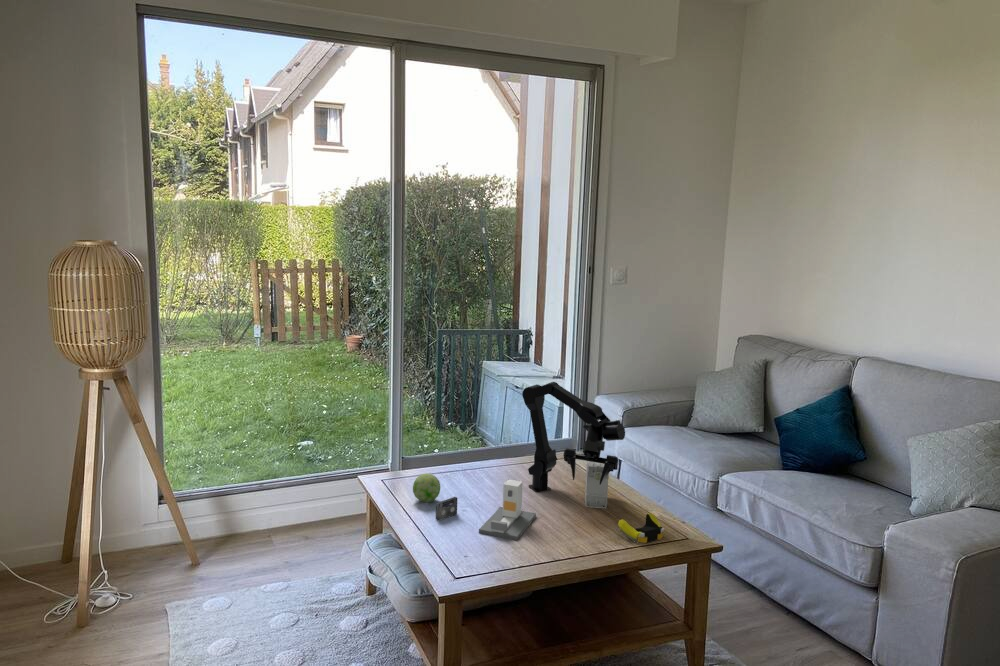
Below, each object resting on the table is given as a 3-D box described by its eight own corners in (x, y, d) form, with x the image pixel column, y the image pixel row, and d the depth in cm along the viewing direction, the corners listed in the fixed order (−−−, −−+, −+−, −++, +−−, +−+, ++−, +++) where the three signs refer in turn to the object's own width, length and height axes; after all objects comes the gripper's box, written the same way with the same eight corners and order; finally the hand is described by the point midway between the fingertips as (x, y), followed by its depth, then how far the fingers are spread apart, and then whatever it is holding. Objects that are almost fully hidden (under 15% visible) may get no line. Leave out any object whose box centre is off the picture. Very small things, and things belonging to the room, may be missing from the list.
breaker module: (507, 511, 245) (508, 479, 243) (521, 514, 243) (522, 481, 241) (501, 518, 239) (502, 485, 237) (515, 520, 238) (517, 487, 236)
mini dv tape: (454, 512, 247) (454, 496, 246) (457, 514, 245) (457, 497, 245) (435, 519, 241) (436, 502, 240) (438, 520, 240) (438, 503, 239)
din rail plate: (500, 510, 250) (500, 498, 249) (535, 516, 246) (536, 504, 245) (478, 532, 231) (479, 519, 231) (517, 540, 227) (517, 526, 226)
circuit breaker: (604, 493, 269) (607, 454, 266) (606, 508, 255) (609, 467, 252) (584, 492, 269) (586, 453, 267) (585, 506, 255) (587, 466, 253)
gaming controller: (614, 535, 234) (634, 547, 225) (615, 518, 233) (635, 530, 224) (650, 526, 241) (670, 538, 232) (651, 511, 240) (671, 522, 232)
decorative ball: (443, 504, 253) (444, 477, 251) (416, 508, 249) (416, 480, 248) (435, 494, 262) (436, 468, 260) (409, 497, 258) (409, 470, 257)
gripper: (566, 426, 249) (558, 468, 241) (621, 434, 244) (614, 477, 236) (568, 440, 258) (560, 480, 250) (620, 448, 254) (614, 490, 246)
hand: (586, 481), depth 245 cm, fingers open, 9 cm apart
